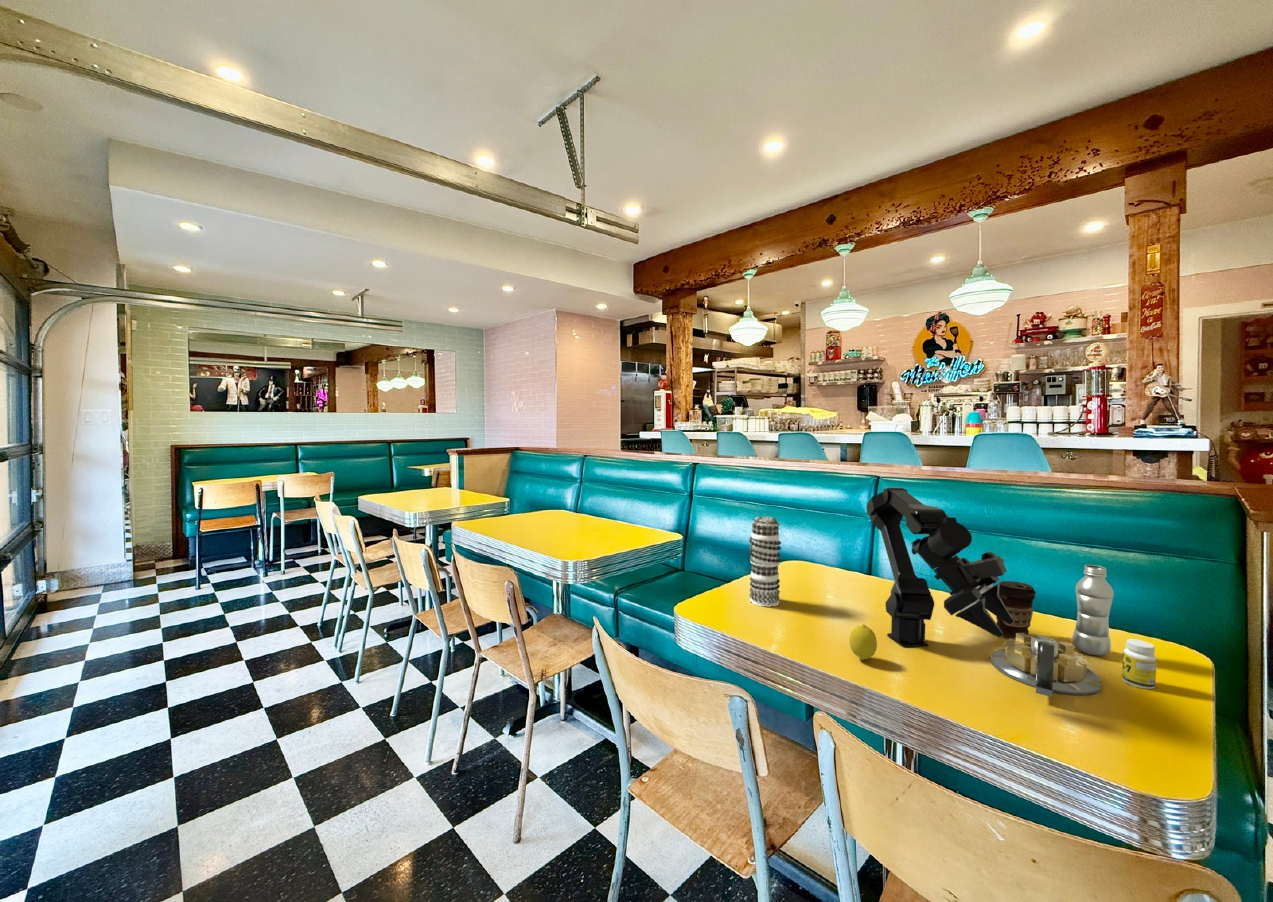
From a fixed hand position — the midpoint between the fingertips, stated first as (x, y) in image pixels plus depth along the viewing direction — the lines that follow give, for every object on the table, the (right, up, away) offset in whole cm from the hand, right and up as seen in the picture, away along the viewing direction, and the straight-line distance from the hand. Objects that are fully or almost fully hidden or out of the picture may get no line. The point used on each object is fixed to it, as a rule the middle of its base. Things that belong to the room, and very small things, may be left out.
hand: (1006, 629), depth 97 cm
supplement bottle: (+29, -12, +3) cm, 31 cm away
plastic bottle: (+31, -11, +16) cm, 37 cm away
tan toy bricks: (+10, -10, +4) cm, 15 cm away
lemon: (-23, -12, +13) cm, 28 cm away
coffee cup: (+20, -11, +25) cm, 34 cm away
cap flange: (+13, -12, +7) cm, 19 cm away
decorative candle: (-35, -10, +49) cm, 61 cm away
